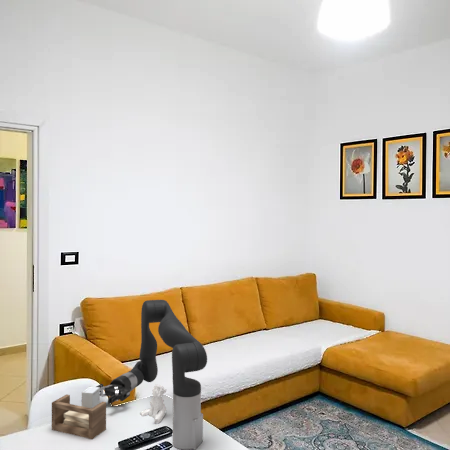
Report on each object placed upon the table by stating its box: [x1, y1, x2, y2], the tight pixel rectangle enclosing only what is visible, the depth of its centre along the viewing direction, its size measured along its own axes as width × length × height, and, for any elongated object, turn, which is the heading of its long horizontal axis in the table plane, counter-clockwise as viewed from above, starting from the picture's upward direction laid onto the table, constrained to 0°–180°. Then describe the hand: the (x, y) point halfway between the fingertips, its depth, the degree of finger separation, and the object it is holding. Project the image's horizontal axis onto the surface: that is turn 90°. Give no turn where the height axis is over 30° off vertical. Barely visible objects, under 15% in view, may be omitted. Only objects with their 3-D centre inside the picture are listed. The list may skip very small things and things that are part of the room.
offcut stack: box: [63, 411, 89, 430], centre depth 160 cm, size 12×5×5 cm, turn 69°
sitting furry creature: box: [139, 384, 167, 425], centre depth 171 cm, size 10×9×12 cm
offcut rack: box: [51, 394, 107, 440], centre depth 159 cm, size 17×8×10 cm, turn 69°
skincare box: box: [81, 386, 101, 408], centre depth 166 cm, size 6×4×12 cm
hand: (99, 399), depth 171 cm, fingers open, 8 cm apart
